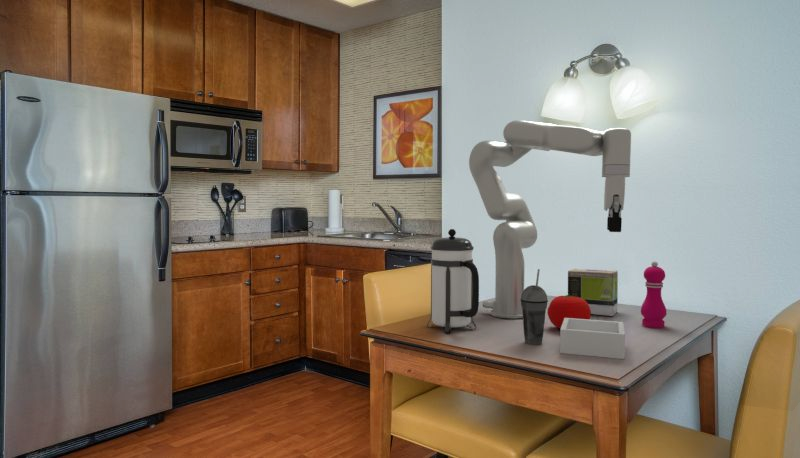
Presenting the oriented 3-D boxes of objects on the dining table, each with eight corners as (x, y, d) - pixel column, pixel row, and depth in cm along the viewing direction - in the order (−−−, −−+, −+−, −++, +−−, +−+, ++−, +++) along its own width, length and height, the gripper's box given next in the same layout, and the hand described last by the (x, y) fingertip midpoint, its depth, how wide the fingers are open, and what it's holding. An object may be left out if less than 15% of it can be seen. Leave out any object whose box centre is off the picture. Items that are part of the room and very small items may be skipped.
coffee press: (419, 332, 158) (419, 229, 156) (434, 321, 173) (435, 227, 171) (477, 337, 152) (478, 230, 150) (488, 325, 167) (489, 228, 165)
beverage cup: (516, 339, 150) (517, 267, 149) (541, 339, 150) (542, 267, 149) (524, 346, 142) (525, 270, 141) (551, 345, 143) (552, 270, 142)
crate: (560, 353, 136) (560, 329, 136) (564, 339, 150) (564, 317, 150) (624, 359, 131) (625, 334, 131) (622, 344, 145) (623, 322, 145)
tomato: (540, 326, 165) (541, 292, 165) (573, 323, 169) (574, 290, 169) (564, 335, 155) (564, 298, 154) (598, 331, 159) (599, 296, 158)
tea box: (617, 312, 188) (618, 269, 188) (612, 317, 180) (613, 273, 179) (573, 307, 196) (574, 267, 195) (566, 312, 188) (567, 270, 187)
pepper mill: (669, 329, 162) (670, 262, 162) (643, 328, 164) (644, 262, 163) (662, 323, 170) (664, 260, 169) (637, 322, 171) (639, 259, 170)
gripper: (600, 173, 166) (599, 229, 166) (603, 170, 149) (601, 232, 150) (627, 173, 163) (625, 229, 164) (632, 170, 147) (630, 233, 148)
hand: (613, 231), depth 157 cm, fingers open, 9 cm apart
